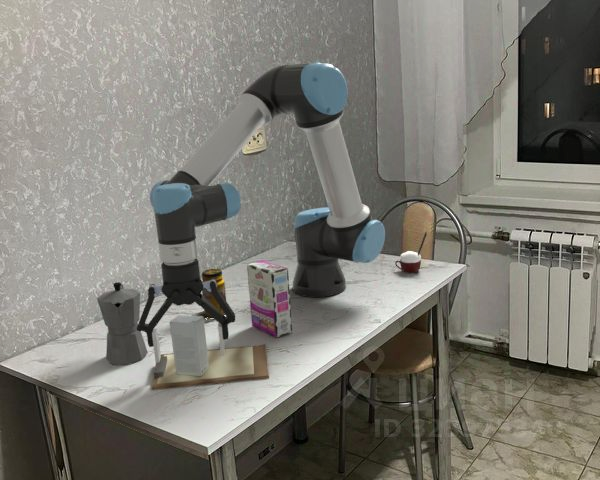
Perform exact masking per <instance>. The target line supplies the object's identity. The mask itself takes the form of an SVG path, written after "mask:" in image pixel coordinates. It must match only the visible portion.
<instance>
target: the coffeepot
mask: <svg viewBox="0 0 600 480" xmlns="http://www.w3.org/2000/svg"><path fill="white" fill-rule="evenodd" d="M112 285H113V288H114V290H111V291H106V292H103V293H102V294H101V295H99V296H98V297H96V301H97V304H98V306H99V307H98V308H99V310H100V312H101V315H102V319H103V322H104V325H105V326H106V327H107V331H108V332H107V334H106V354H105V358H106V360H107V361H108V363H110V364H112V365H115V366H126V365H130V364H131V365H132V364H135V363H139V362H140V361H141V360H143V359H144V358H145V357H146V356H147V354H148V353H149V352H148V349H147V346H146V343H145V340H144V336H143V334H142V331H138V330H137V326H138V323H139V321H140V317H141V316H140V315H141V314H140V311H141V309H140V308H141V307H140V306H141V305H140V304H141V292H140V291H138V290H137V289H135V288H124V285H123V284H122V283H121V282H115V283H113V284H112Z"/></svg>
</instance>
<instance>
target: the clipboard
mask: <svg viewBox="0 0 600 480" xmlns="http://www.w3.org/2000/svg"><path fill="white" fill-rule="evenodd" d="M207 352H208V361H209V369H208V370H207V371H206V372H205V373H204V374H203V375H202V376H191V375H179V374H176V368H175V361H174V353H164V354H163V353H162V354H161V353H160V355H161V358H160V362H157V363H156V362H155V366H154V370H153V381H152V384H151V390H154V391H155V390H162V389H173V388H182V387H192V386H193V387H194V386H202V385H213V384H221V383H223V384H225V383H233V382H240V381H241V382H243V381H251V380H252V381H253V380H261V379H270V375H269V366H268V356H267V346H266V343H265V344H255V345H245V346H234V347H233V346H232V347H226V348H225V356H221V351H220V348H214V349H207Z"/></svg>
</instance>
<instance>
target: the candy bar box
mask: <svg viewBox="0 0 600 480" xmlns="http://www.w3.org/2000/svg"><path fill="white" fill-rule="evenodd" d="M246 269H247V270H246V271H247V280H248V281H247V283H248V293H249V294H248V295H249V305H250V316H251V317H250V318H251V326H252V327H253V328H255V329H257V330H260V331H262V332H264V333H266V334H268V335H269V336H272V337H275V338H281V337H284V336H287V335H289V334H292V333H293V323H292V310H291V309H292V308H291V293H290V279H289V268H287V267H284V266H281V265H278V264H276V263H275V264H274V263H271V262H268V261H265V260H258V261H254V262H250V263H248V264H246Z"/></svg>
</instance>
